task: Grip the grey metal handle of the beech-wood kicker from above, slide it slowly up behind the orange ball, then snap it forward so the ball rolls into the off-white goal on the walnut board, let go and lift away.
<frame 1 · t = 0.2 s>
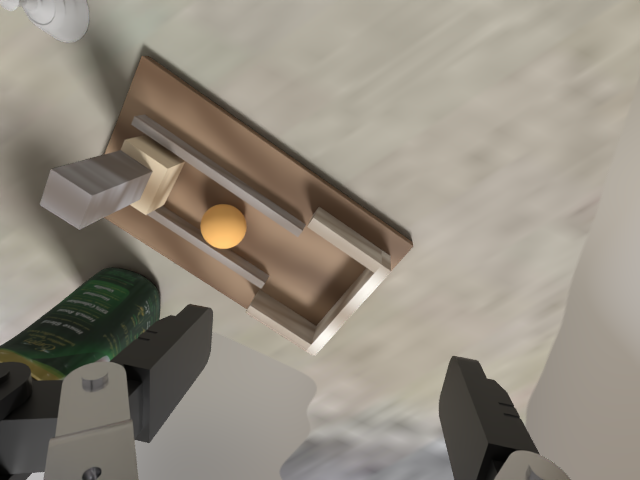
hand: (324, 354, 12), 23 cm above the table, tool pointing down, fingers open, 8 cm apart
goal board: (244, 221, 36), on the table
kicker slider: (120, 185, 29), point 6 cm above the table, slide at 0.0 cm
coffee jar: (131, 301, 42), on the table
chalice: (62, 8, 31), on the table
ball: (223, 226, 33), point 3 cm above the table, touching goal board
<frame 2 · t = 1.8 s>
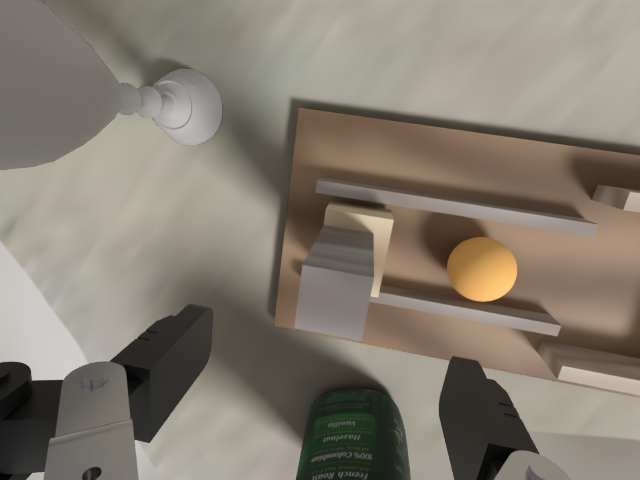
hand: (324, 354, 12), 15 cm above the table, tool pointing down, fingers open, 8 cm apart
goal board: (483, 256, 26), on the table
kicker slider: (350, 265, 20), point 6 cm above the table, slide at 0.0 cm
coffee jar: (357, 429, 32), on the table
chalice: (188, 108, 26), on the table
ball: (480, 269, 23), point 3 cm above the table, touching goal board
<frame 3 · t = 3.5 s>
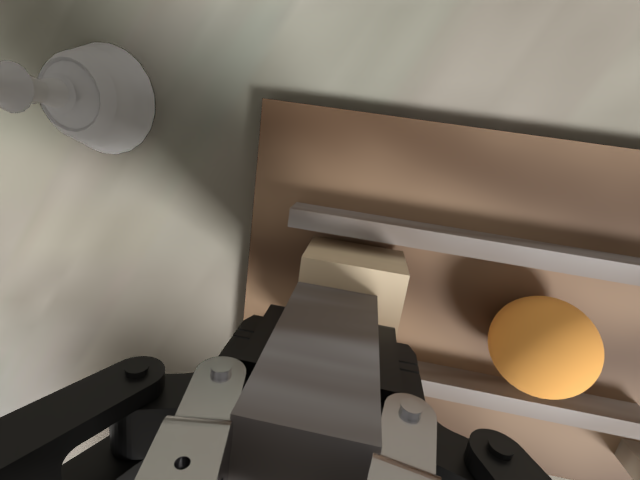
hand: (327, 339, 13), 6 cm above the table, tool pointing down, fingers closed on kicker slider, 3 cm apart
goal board: (536, 315, 18), on the table
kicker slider: (340, 355, 12), point 7 cm above the table, slide at 0.0 cm, touching gripper
chalice: (108, 100, 18), on the table
ball: (542, 345, 15), point 3 cm above the table, touching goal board
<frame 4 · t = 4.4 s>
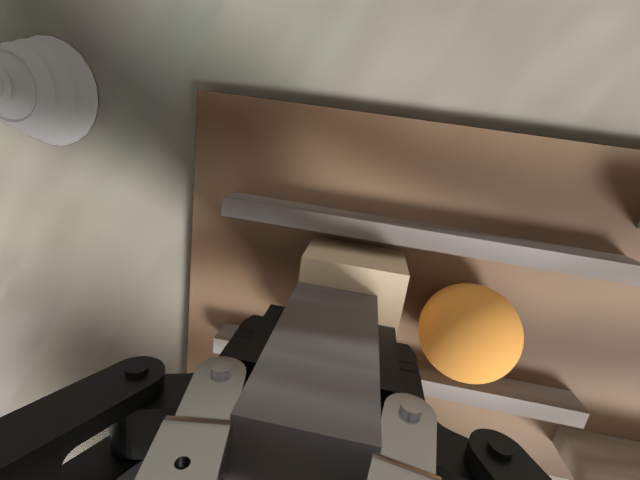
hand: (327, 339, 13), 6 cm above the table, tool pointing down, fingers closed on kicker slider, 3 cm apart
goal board: (474, 304, 18), on the table
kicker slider: (340, 356, 12), point 7 cm above the table, slide at 3.0 cm, touching gripper
chalice: (53, 92, 18), on the table
ball: (468, 332, 15), point 3 cm above the table, touching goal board
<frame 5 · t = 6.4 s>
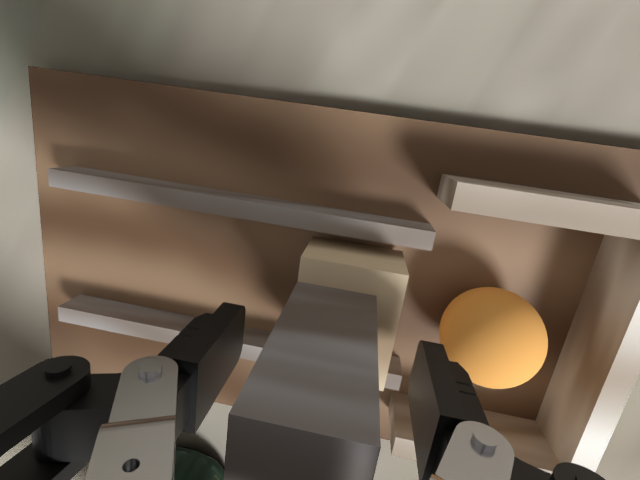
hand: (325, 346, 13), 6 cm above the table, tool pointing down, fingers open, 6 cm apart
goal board: (311, 275, 19), on the table
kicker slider: (339, 355, 12), point 7 cm above the table, slide at 11.0 cm
ball: (490, 336, 15), point 3 cm above the table, tilted 124°, touching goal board
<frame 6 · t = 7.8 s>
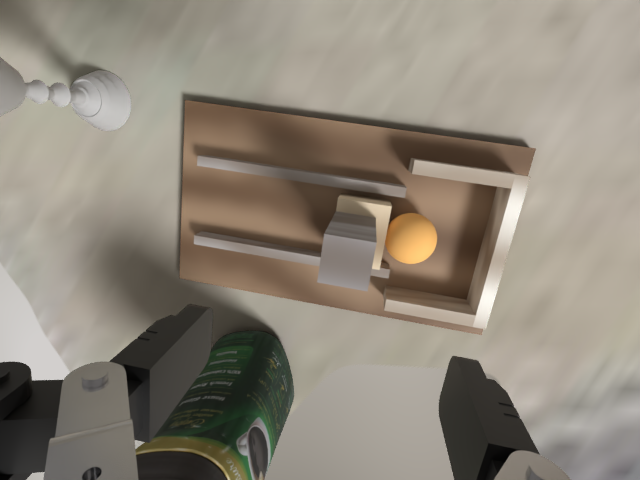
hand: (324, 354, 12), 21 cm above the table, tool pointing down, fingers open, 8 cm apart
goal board: (338, 218, 32), on the table
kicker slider: (358, 241, 26), point 7 cm above the table, slide at 11.0 cm
coffee jar: (256, 368, 38), on the table
chalice: (106, 101, 33), on the table
ball: (410, 238, 29), point 3 cm above the table, tilted 180°, touching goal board
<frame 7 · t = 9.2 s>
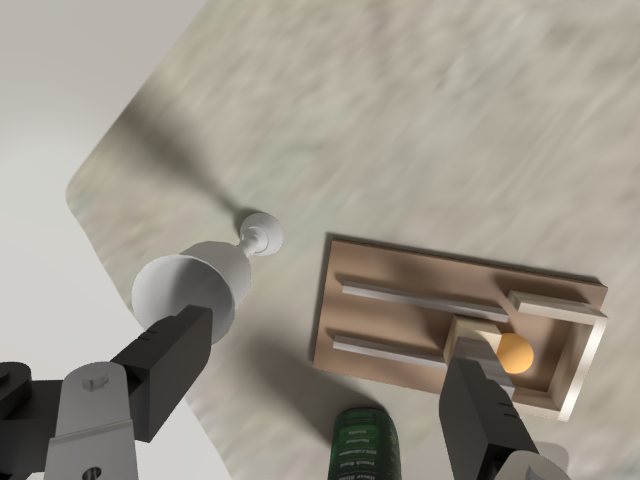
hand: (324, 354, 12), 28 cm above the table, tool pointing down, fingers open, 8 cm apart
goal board: (445, 327, 41), on the table
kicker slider: (480, 364, 35), point 6 cm above the table, slide at 11.0 cm
coffee jar: (366, 435, 47), on the table
chalice: (261, 234, 42), on the table
ball: (511, 352, 38), point 3 cm above the table, tilted 178°, touching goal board
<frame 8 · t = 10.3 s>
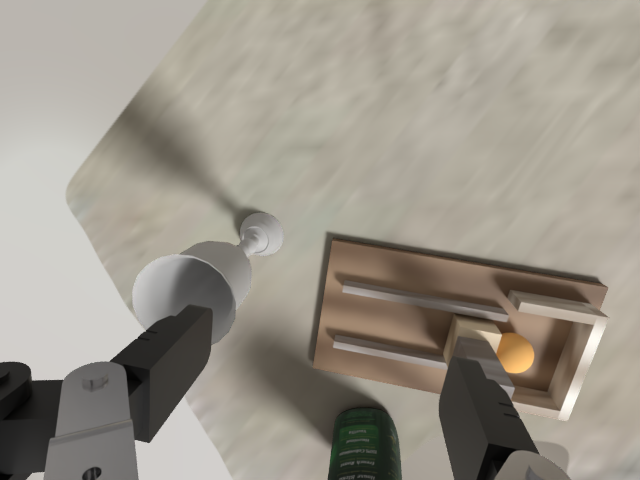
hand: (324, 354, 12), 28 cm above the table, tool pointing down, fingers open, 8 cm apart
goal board: (445, 326, 41), on the table
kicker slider: (480, 364, 35), point 7 cm above the table, slide at 11.0 cm
coffee jar: (366, 435, 47), on the table
chalice: (262, 234, 42), on the table
ball: (511, 352, 38), point 3 cm above the table, tilted 177°, touching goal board
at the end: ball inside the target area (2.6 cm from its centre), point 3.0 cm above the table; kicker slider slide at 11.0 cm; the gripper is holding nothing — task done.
